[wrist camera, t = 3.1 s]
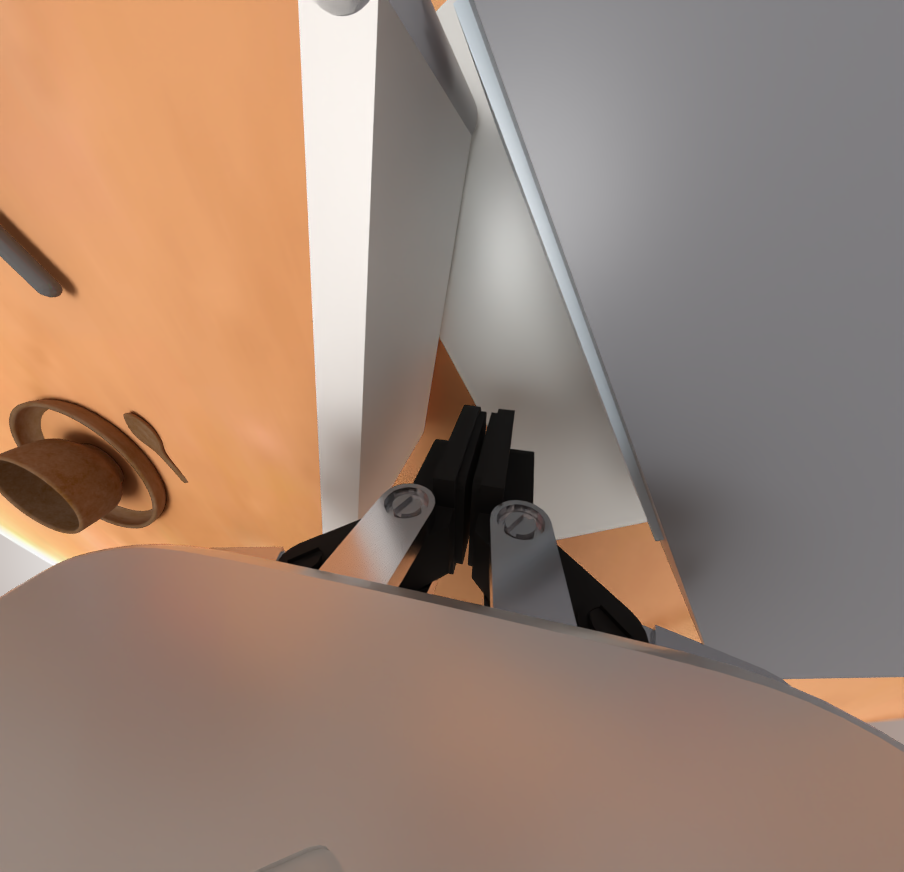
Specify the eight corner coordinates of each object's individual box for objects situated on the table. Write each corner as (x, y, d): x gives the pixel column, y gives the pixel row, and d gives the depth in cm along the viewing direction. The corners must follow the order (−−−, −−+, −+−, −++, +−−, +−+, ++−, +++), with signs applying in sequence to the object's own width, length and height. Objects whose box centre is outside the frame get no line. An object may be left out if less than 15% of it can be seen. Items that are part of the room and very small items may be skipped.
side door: (425, 432, 17) (359, 547, 11) (400, 425, 17) (320, 534, 11) (481, 91, 10) (393, -155, 4) (438, 83, 10) (282, -168, 4)
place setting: (94, 517, 33) (15, 567, 28) (-109, 308, 24) (-280, 326, 19) (225, 510, 27) (156, 570, 22) (26, 237, 18) (-163, 236, 13)
